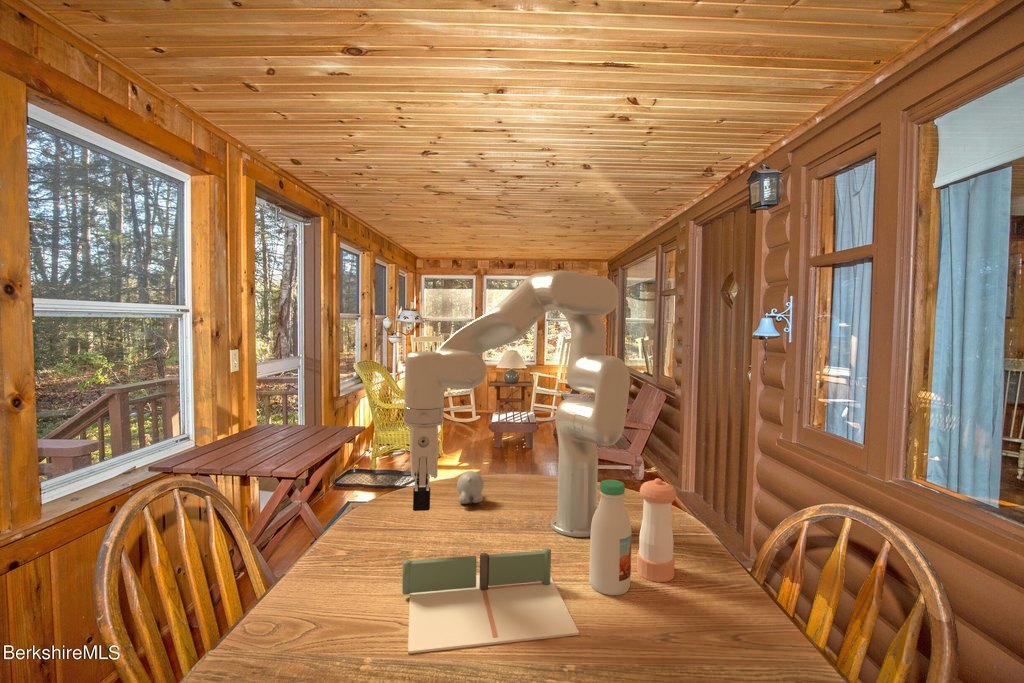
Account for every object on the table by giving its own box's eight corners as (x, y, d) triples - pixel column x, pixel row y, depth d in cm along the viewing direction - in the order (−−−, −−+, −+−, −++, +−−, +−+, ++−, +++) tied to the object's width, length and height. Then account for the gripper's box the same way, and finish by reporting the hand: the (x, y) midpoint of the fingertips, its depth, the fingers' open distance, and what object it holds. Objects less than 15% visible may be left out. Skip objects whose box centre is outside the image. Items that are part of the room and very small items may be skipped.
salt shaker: (664, 586, 93) (667, 488, 92) (630, 572, 98) (632, 478, 97) (680, 572, 99) (683, 479, 98) (647, 559, 104) (649, 470, 103)
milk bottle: (606, 601, 88) (609, 492, 87) (581, 580, 95) (583, 479, 94) (638, 590, 92) (642, 486, 91) (612, 571, 99) (615, 473, 98)
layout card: (546, 570, 98) (547, 568, 98) (578, 634, 79) (579, 631, 79) (410, 582, 93) (410, 579, 93) (408, 654, 74) (408, 650, 74)
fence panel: (475, 583, 91) (475, 554, 91) (476, 588, 90) (476, 558, 90) (402, 590, 89) (402, 560, 89) (402, 595, 87) (402, 564, 87)
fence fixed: (549, 582, 94) (549, 547, 94) (551, 586, 93) (552, 551, 92) (478, 588, 92) (479, 553, 91) (480, 593, 90) (480, 557, 90)
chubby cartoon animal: (481, 503, 140) (481, 473, 142) (485, 503, 128) (484, 469, 131) (455, 504, 138) (456, 473, 141) (457, 503, 127) (457, 470, 130)
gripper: (445, 423, 88) (442, 524, 88) (441, 408, 102) (439, 494, 103) (402, 424, 86) (400, 526, 87) (405, 408, 101) (402, 496, 102)
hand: (421, 508), depth 95 cm, fingers closed
